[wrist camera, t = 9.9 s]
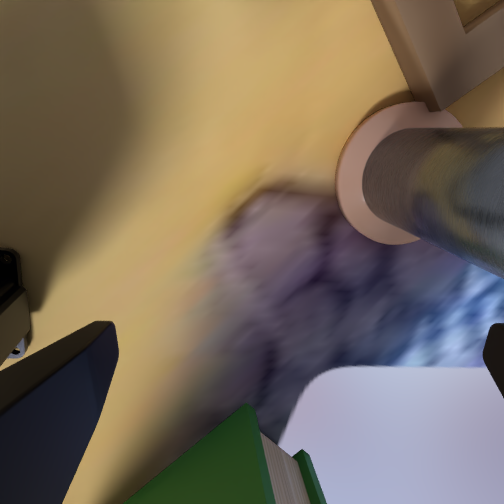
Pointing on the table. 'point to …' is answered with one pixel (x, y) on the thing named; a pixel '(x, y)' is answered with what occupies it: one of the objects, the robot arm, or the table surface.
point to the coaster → (358, 154)
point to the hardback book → (235, 470)
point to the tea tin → (443, 189)
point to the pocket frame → (442, 47)
